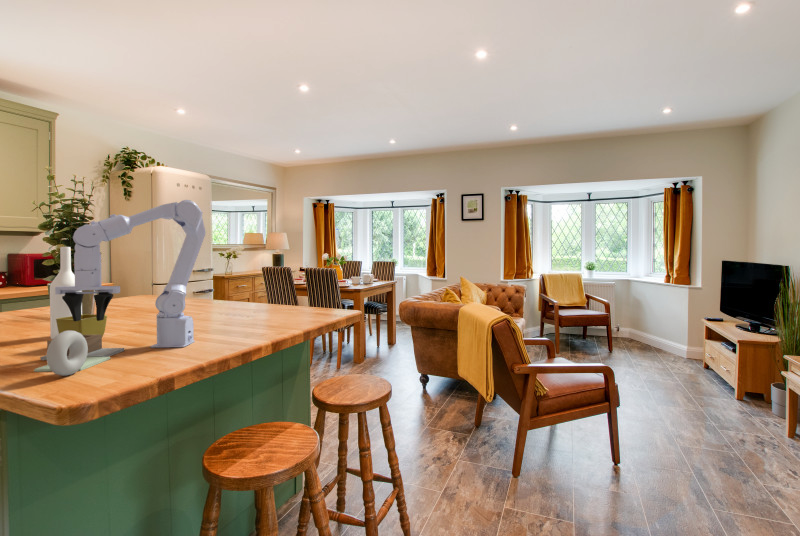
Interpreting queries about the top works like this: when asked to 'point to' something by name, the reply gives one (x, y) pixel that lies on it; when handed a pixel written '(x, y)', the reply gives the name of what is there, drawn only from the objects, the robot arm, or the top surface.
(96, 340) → the c link
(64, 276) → the bottle
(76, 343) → the donut
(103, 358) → the pad
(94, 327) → the flower pot
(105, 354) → the stand
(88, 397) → the top surface
